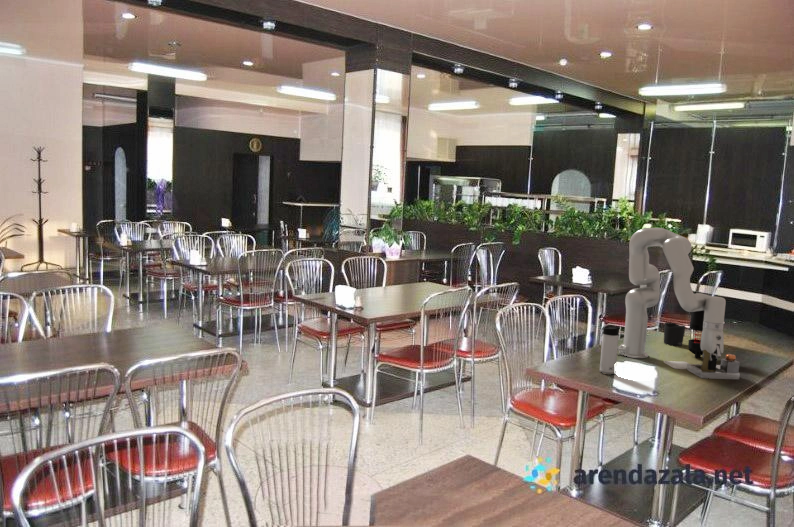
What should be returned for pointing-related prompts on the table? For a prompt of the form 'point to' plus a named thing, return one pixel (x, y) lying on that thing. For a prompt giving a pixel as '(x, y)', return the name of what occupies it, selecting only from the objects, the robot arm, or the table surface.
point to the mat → (677, 364)
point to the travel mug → (609, 349)
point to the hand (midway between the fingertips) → (708, 367)
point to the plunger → (730, 357)
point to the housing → (717, 370)
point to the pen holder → (673, 334)
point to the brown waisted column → (706, 362)
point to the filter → (696, 325)
